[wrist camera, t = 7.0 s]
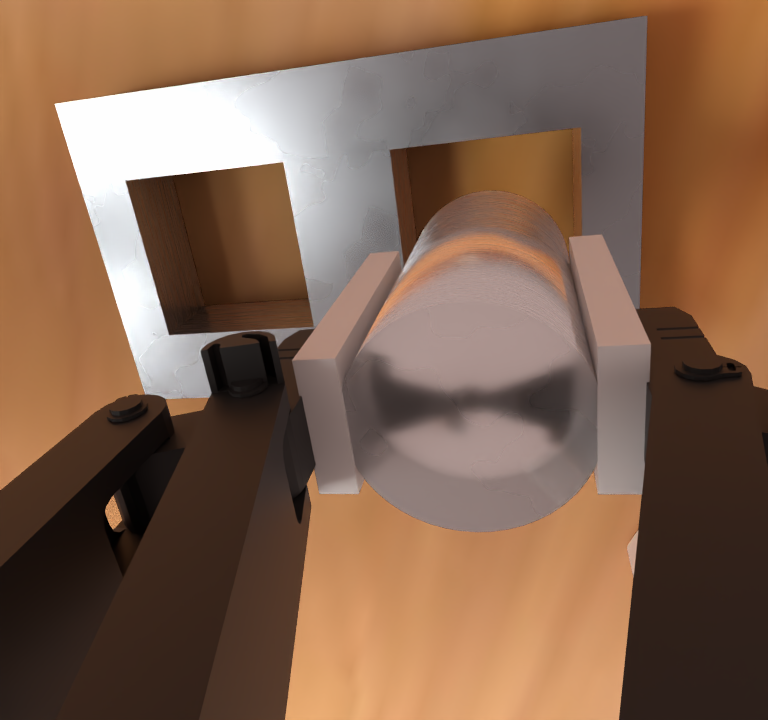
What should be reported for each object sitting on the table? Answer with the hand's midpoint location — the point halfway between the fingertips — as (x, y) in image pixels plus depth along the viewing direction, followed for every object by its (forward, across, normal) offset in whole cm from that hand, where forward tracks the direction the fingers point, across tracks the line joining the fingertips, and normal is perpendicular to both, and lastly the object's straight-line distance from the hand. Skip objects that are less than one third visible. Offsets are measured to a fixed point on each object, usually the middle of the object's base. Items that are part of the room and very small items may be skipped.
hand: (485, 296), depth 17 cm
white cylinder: (+3, 0, 0) cm, 3 cm away
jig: (+10, -5, 0) cm, 11 cm away
